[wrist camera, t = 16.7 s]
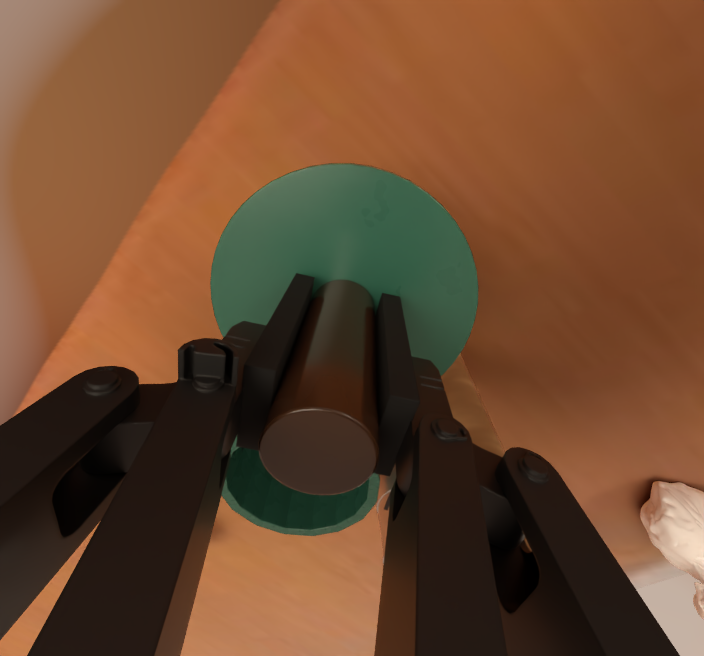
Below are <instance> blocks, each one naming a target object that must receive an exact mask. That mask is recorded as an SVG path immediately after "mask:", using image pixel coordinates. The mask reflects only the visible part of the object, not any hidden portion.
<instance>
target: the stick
mask: <svg viewBox="0 0 704 656" xmlns="http://www.w3.org/2000/svg"><path fill="white" fill-rule="evenodd" d="M441 379H442V382H443V385H444V391H445V392H446V395H447V399H448V402H449V405H450V408H451V412H452V415H453V418H455V419H456V420H457V421H459V422H460V423H462V424H463V425H464V427H465V428H466V429H467V430H468V431H469V434H470V436H471V439H472V443H474V444H475V445H477V446H479V447H481V448H483V449H485V450H488V451H490V452H492V453H494V454H496V455H499V456H501V457H503V455H504V454H505V451H504V449H503V446H502V444H501V442H500V440H499V438H498V435H497V433H496V431H495V429H494V427H493V424H492V422H491V420H490V418H489V416H488V413H487V411H486V409H485V407H484V405H483V402H482V400H481V398H480V396H479V393H478V391H477V389H476V387H475V385H474V382H473V380H472V378H471V376H470V374H469V371H468V369H467V367H466V365H465V363H464V360H463V358H462V356H461V354H459V356H458V357H457V359H456V360H455V362H454V363H453V364H452V365H451V366H450V367H449V369H448V370H447V371H446V372H445V373H444V374H443V375H442V376H441ZM524 540H525V543H526V545H527V546H528V548H529V550H530V551H532V550H531V548H530V546H529V544H528V542H527V540H526V538H524Z"/></svg>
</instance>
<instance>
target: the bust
mask: <svg viewBox="0 0 704 656" xmlns="http://www.w3.org/2000/svg"><path fill="white" fill-rule="evenodd" d="M640 518H641V521H642V523H643V525H644V527H645V528H646V530H647V531H648V535H649V537H650V540H651V542H652V543H653V545H654V546H655V547H657V548H658V549H659V550H660V551H661V552H662V554H663V556H664V557H665V558H666V559H667V560H668V561H669V562H670V563H671V564H672V565H673V566H675V567H677V568H679V569H681V570H683V571H686V572H688V573H689V574H690V575H692V576H693V577H694V578H696V579H697V580H700V581H701V583H702V584H701V583H698V582H695V588H696V594H695V595H694V598H693V602H694V606H695V608H696V610H697V612H698V614H699V615H700V617H701V618H702V619H704V492H703V491H700V490H698V489H695V488H692V487H689V486H687V485H685V484H683V483H681V482H677V483H667V482H662V481H656V482H653V484H652V489H651V496H650V499H649V500H648V501H647V502H645V504H644V505H643V506H642V508H641V512H640Z"/></svg>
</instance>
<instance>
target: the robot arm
mask: <svg viewBox="0 0 704 656" xmlns="http://www.w3.org/2000/svg"><path fill="white" fill-rule="evenodd" d="M314 279H315V277H311V276H307V275H302V274H298V273H296V274H295V276H294V278H293V280H292V281H291V283H290V285H289V287H288V288H287V290H286V292H285V294H284V295H283V297H282V299H281V301H280V302H279V304H278V306H277V308H276V309H275V311H274V313H273V315H272V316H271V318H270V320H269V322H268V323H267V325H262V324H257V323H252V322H248V321H242V322H240V323H238V324H236V325H234V326H232V327H231V328H230V330H229V331H228V332H227V334H226V336H225V337H224V338H223V339H222V340H219V339H210V338H203V339H197V340H193V341H190V342H188V343H185V344H184V345H183V346H182V347H180V348H179V349H178V381H177V382H174V383H167V384H139V378H138V376H137V375H136V374H135V372H133V371H131V370H129V369H127V368H124V367H117V366H105V367H97V368H93V369H89V370H86V371H84V372H82V373H80V374H78V375H76V376H74V377H72V378H71V379H69V380H68V381H66V382H65V383H63V384H62V385H60V386H59V387H57V388H56V389H54V390H53V391H51V392H50V393H48V394H47V395H45V396H44V397H42V398H41V399H39V400H38V401H36V402H35V403H33V404H32V405H30V406H29V407H27V408H26V409H24V410H23V411H21V412H20V413H18V414H17V415H16V416H14V417H13V418H11V419H10V420H8V421H7V422H5V423H4V424H2V425H1V426H0V640H1V639H2V637H3V636H4V635H5V634H6V633H7V632H8V630H9V629H10V628H11V627H12V626H13V624H14V623H15V622H16V621H17V620H18V618H19V617H20V616H21V615H22V614H23V612H24V611H25V610H26V609H27V608H28V606H29V605H30V604H31V603H32V602H33V600H34V599H35V598H36V597H37V596H38V595H39V593H40V592H41V591H42V590H43V589H44V587H45V586H46V585H47V584H48V583H49V581H50V580H51V579H52V578H53V577H54V575H55V574H56V573H57V572H58V571H59V569H60V568H61V567H62V566H63V565H64V563H65V562H66V561H67V560H68V559H69V558H70V556H71V555H72V554H73V553H74V552H75V550H76V549H77V548H78V547H79V546H80V544H81V543H82V542H83V541H84V540H85V538H86V537H87V536H88V535H89V534H90V532H91V531H92V530H93V529H94V528H95V526H96V525H97V524H98V523H99V522H100V523H99V525H98V527H97V529H96V531H95V532H94V534H93V536H92V538H91V540H90V542H89V543H88V545H87V547H86V549H85V551H84V553H83V554H82V556H81V558H80V560H79V562H78V564H77V565H76V567H75V569H74V571H73V573H72V574H71V576H70V578H69V580H68V582H67V584H66V585H65V587H64V589H63V591H62V593H61V595H60V596H59V598H58V600H57V602H56V604H55V606H54V607H53V609H52V611H51V613H50V615H49V617H48V618H47V620H46V622H45V624H44V626H43V628H42V629H41V631H40V633H39V635H38V637H37V638H36V640H35V642H34V644H33V646H32V648H31V649H30V651H29V653H28V655H27V656H180V654H181V650H182V647H183V643H184V639H185V635H186V631H187V627H188V623H189V619H190V615H191V611H192V607H193V604H194V600H195V596H196V592H197V588H198V584H199V580H200V576H201V572H202V568H203V565H204V561H205V557H206V553H207V549H208V545H209V541H210V537H211V533H212V529H213V526H214V522H215V518H216V514H217V510H218V506H219V502H220V498H221V494H222V490H223V486H224V483H225V479H226V475H227V471H228V467H229V463H230V456H231V447H232V445H233V443H234V441H235V438H236V436H237V443H236V446H237V447H242V448H247V449H252V450H257V451H259V449H258V442H259V437H260V434H261V432H262V429H263V426H264V424H265V421H266V418H267V416H268V413H269V410H270V408H271V405H272V403H273V400H274V397H275V395H276V392H277V389H278V387H279V384H280V381H281V379H282V376H283V373H284V371H285V368H286V365H287V363H288V360H289V358H290V355H291V352H292V350H293V347H294V344H295V342H296V339H297V336H298V334H299V331H300V328H301V326H302V323H303V320H304V318H305V315H306V312H307V310H308V307H309V305H310V301H311V296H312V290H313V285H314ZM375 319H376V352H377V386H378V420H379V461H378V465H377V467H376V469H375V471H374V473H375V474H380V475H385V476H390V475H391V473H392V470H393V468H394V465H395V464H396V480H395V482H394V484H393V487H392V489H391V492H390V494H389V496H388V499H387V501H386V504H385V506H384V510H388V508H389V516H388V526H387V536H386V546H385V556H384V566H383V576H382V585H381V595H380V605H379V615H378V625H377V635H376V645H375V655H374V656H680V655H679V654H678V652H677V651H676V649H675V648H674V646H673V645H672V643H671V642H670V640H669V639H668V637H667V636H666V634H665V633H664V631H663V630H662V628H661V627H660V625H659V624H658V623H657V621H656V619H655V618H654V616H653V615H652V613H651V612H650V610H649V609H648V607H647V606H646V604H645V603H644V601H643V600H642V598H641V597H640V595H639V594H638V592H637V591H636V589H635V588H634V586H633V585H632V583H631V582H630V580H629V579H628V577H627V576H626V574H625V573H624V571H623V570H622V568H621V567H620V565H619V564H618V562H617V560H616V559H615V557H614V556H613V554H612V553H611V551H610V550H609V548H608V547H607V545H606V544H605V542H604V541H603V539H602V538H601V536H600V535H599V533H598V532H597V530H596V529H595V527H594V526H593V524H592V523H591V521H590V520H589V518H588V517H587V515H586V514H585V512H584V511H583V509H582V508H581V506H580V505H579V503H578V502H577V500H576V499H575V497H574V496H573V494H572V493H571V491H570V490H569V488H568V487H567V485H566V484H565V482H564V481H563V479H562V478H561V476H560V475H559V473H558V472H557V471H556V470H555V469H554V467H553V466H552V465H551V464H550V463H549V462H548V461H546V460H545V459H544V458H543V457H541V456H540V455H538V454H536V453H534V452H532V451H530V450H527V449H524V448H520V447H517V448H510V449H509V450H507V451H506V452H505V454H504V455H503V457H501V456H499V455H496V454H494V453H492V452H490V451H488V450H485V449H483V448H481V447H479V446H477V445H475V444H474V443H472V439H471V436H470V434H469V431H468V430H467V429H466V428H465V427H464V425H463V424H462V423H460V422H459V421H457V420H456V419H455V418H453V415H452V412H451V408H450V405H449V402H448V399H447V395H446V392H445V391H444V385H443V382H442V379H441V375H440V372H439V370H438V369H437V367H436V366H435V365H434V364H433V363H432V361H431V360H427V359H422V358H418V357H413V356H411V351H410V345H409V340H408V335H407V330H406V325H405V319H404V314H403V309H402V304H401V299H400V297H399V296H394V295H390V294H386V293H382V295H381V298H380V302H379V305H378V309H377V312H376V316H375ZM101 519H102V520H101ZM524 538H526V540H527V542H528V544H529V546H530V548H531V550H532V551H530V550H529V548H528V546H527V545H526V543H525V540H524Z"/></svg>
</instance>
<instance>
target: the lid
mask: <svg viewBox="0 0 704 656" xmlns="http://www.w3.org/2000/svg"><path fill="white" fill-rule="evenodd" d="M296 273H298V274H302V275H307V276H311V277H315V279H314V285H313V290H312V296H311V301H310V305H309V307H308V310H307V312H306V315H305V318H304V320H303V323H302V326H301V328H300V331H299V334H298V336H297V339H296V342H295V344H294V347H293V350H292V352H291V355H290V358H289V360H288V363H287V365H286V368H285V371H284V373H283V376H282V379H281V381H280V384H279V387H278V389H277V392H276V395H275V397H274V400H273V403H272V405H271V408H270V410H269V413H268V416H267V418H266V421H265V424H264V426H263V429H262V432H261V434H260V437H259V442H258V449H259V455H260V458H261V461H262V463H263V465H264V467H265V468H266V470H267V471H268V472H269V473H270V474H271V475H272V476H273V477H274V478H275V479H276V480H277V481H279V482H280V483H282V484H284V485H285V486H287V487H289V488H292V489H294V490H297V491H300V492H303V493H308V494H314V495H334V494H340V493H345V492H348V491H351V490H353V489H355V488H357V487H359V486H360V485H362V484H363V483H365V482H366V481H367V480H368V479H369V478H370V477H371V476H372V474H373V473H374V471H375V469H376V467H377V465H378V461H379V420H378V386H377V352H376V319H375V316H376V312H377V309H378V305H379V302H380V298H381V295H382V293H386V294H390V295H394V296H399V297H400V299H401V304H402V309H403V314H404V319H405V325H406V330H407V335H408V340H409V345H410V351H411V356H413V357H418V358H422V359H427V360H431V361H432V363H433V364H434V365H435V366H436V367H437V369H438V370H439V372H440V375H441V376H442V375H443V374H444V373H445V372H446V371H447V370H448V369H449V367H450V366H451V365H452V364H453V363H454V362H455V360H456V359H457V357H458V356H459V354H460V353H461V351H462V350H463V348H464V346H465V344H466V342H467V340H468V338H469V336H470V333H471V330H472V327H473V324H474V321H475V316H476V311H477V305H478V279H477V270H476V266H475V263H474V259H473V255H472V252H471V250H470V247H469V245H468V243H467V240H466V238H465V236H464V234H463V233H462V231H461V229H460V228H459V226H458V225H457V223H456V221H455V220H454V219H453V218H452V216H451V215H450V214H449V213H448V212H447V210H446V209H445V208H444V207H443V206H442V205H441V204H440V203H439V202H438V201H437V200H435V199H434V198H433V197H432V196H431V195H430V194H429V193H427V192H426V191H425V190H423V189H422V188H420V187H419V186H417V185H416V184H414V183H413V182H411V181H410V180H408V179H405V178H403V177H401V176H399V175H397V174H395V173H393V172H390V171H387V170H383V169H380V168H377V167H373V166H368V165H361V164H354V163H329V164H322V165H315V166H310V167H307V168H303V169H300V170H297V171H293V172H290V173H288V174H286V175H284V176H282V177H280V178H278V179H275V180H273V181H271V182H270V183H268V184H267V185H266V186H264V187H263V188H261V189H260V190H258V191H257V192H255V193H254V194H253V195H252V196H251V197H250V198H249V199H248V200H247V201H245V202H244V203H243V204H242V205H241V207H240V208H239V209H238V210H237V212H236V213H235V214H234V215H233V217H232V218H231V219H230V221H229V223H228V224H227V226H226V228H225V229H224V231H223V233H222V235H221V237H220V240H219V243H218V245H217V248H216V250H215V255H214V259H213V263H212V270H211V299H212V304H213V309H214V314H215V317H216V320H217V323H218V326H219V329H220V331H221V333H222V335H223V337H225V336H226V334H227V332H228V331H229V330H230V328H231V327H232V326H234V325H236V324H238V323H240V322H242V321H248V322H252V323H257V324H262V325H267V323H268V322H269V320H270V318H271V316H272V315H273V313H274V311H275V309H276V308H277V306H278V304H279V302H280V301H281V299H282V297H283V295H284V294H285V292H286V290H287V288H288V287H289V285H290V283H291V281H292V280H293V278H294V276H295V274H296Z"/></svg>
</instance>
